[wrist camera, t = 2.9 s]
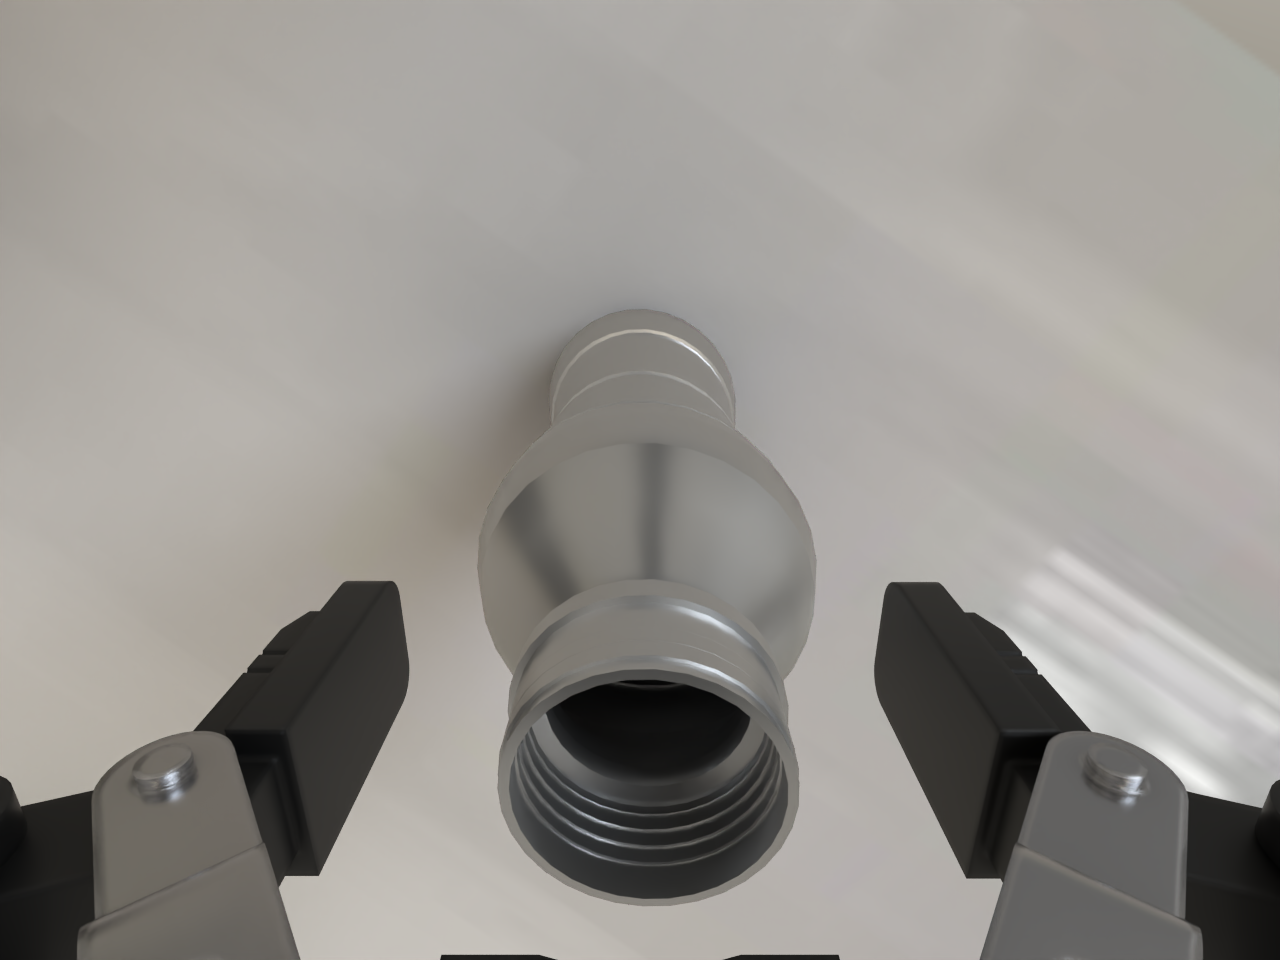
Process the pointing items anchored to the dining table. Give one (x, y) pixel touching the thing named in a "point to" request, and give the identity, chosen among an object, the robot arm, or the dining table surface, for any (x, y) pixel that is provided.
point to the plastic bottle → (646, 623)
